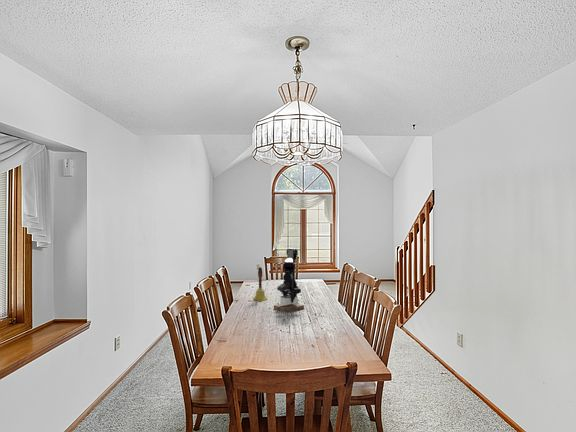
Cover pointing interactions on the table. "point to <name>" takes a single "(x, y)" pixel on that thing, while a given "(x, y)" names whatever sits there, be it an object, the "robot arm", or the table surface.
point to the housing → (287, 300)
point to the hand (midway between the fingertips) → (288, 301)
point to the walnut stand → (288, 307)
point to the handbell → (260, 288)
